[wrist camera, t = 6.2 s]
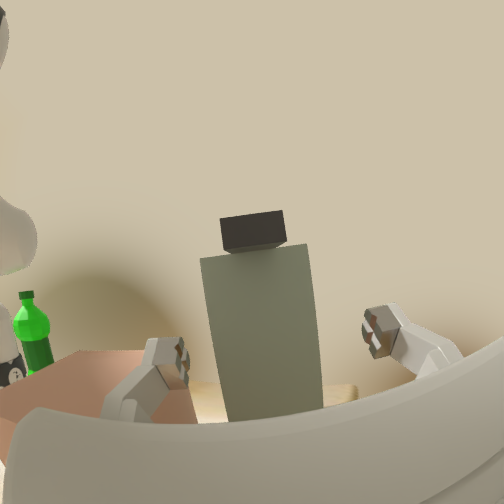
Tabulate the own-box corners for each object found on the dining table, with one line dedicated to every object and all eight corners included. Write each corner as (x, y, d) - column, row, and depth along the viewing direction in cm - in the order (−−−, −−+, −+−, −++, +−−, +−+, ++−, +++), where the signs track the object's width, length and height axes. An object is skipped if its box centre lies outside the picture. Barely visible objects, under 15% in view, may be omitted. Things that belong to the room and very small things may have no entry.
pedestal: (241, 474, 24) (199, 258, 25) (243, 419, 38) (217, 260, 39) (325, 462, 24) (306, 243, 25) (305, 410, 38) (286, 250, 39)
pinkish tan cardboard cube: (79, 553, 7) (-28, 402, 8) (126, 474, 23) (78, 350, 24) (200, 584, 7) (98, 447, 8) (216, 481, 23) (179, 348, 24)
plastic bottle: (52, 380, 52) (32, 290, 53) (73, 387, 50) (50, 288, 51) (26, 391, 43) (3, 293, 44) (45, 400, 40) (18, 292, 41)
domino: (223, 250, 17) (219, 217, 17) (237, 257, 39) (235, 242, 39) (287, 241, 17) (282, 208, 17) (265, 253, 39) (263, 238, 39)
